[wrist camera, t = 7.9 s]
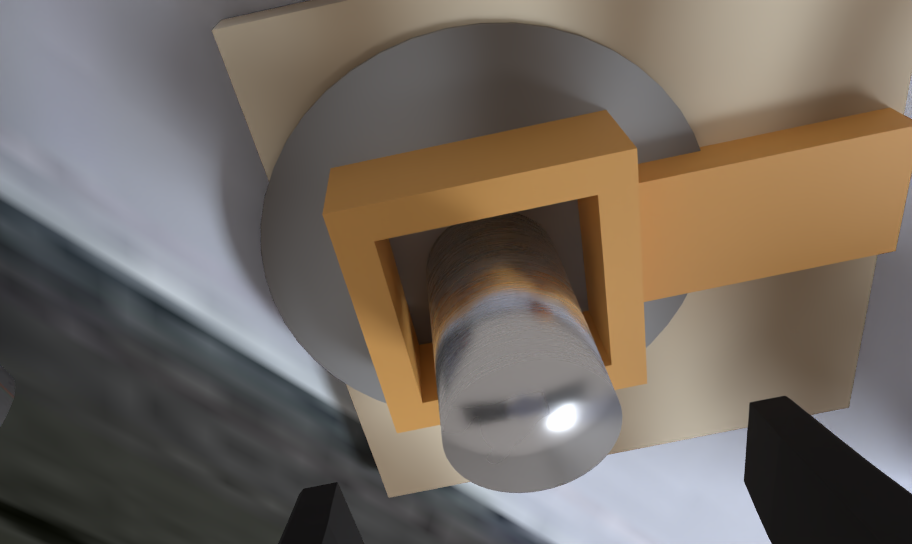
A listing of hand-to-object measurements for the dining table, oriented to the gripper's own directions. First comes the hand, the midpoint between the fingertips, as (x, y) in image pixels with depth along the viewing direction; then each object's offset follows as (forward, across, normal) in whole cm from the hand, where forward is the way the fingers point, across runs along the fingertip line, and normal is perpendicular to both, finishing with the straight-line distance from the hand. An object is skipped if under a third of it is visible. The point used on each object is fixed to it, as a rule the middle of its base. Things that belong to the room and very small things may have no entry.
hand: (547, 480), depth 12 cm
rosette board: (+9, -3, +1) cm, 9 cm away
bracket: (+8, -4, 0) cm, 8 cm away
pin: (+8, 0, 0) cm, 8 cm away
